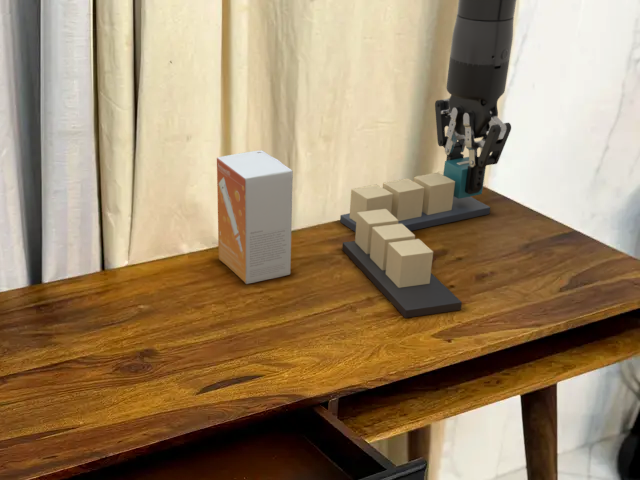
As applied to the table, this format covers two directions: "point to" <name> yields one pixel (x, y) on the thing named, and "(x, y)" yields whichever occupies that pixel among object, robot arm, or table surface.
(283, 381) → the table surface
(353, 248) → the near word
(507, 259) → the table surface
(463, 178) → the teal marked cube
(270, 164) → the small box
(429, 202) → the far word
